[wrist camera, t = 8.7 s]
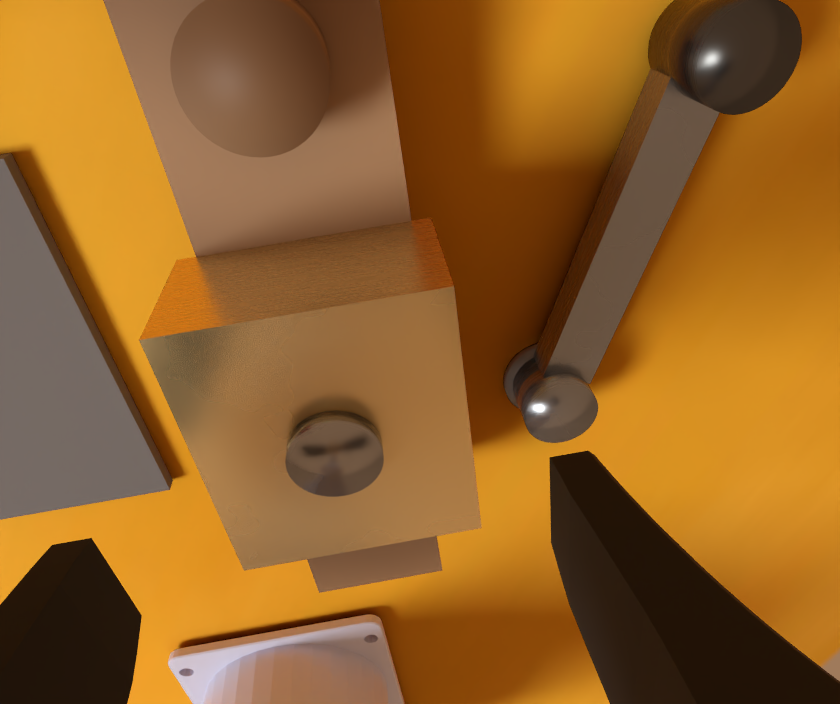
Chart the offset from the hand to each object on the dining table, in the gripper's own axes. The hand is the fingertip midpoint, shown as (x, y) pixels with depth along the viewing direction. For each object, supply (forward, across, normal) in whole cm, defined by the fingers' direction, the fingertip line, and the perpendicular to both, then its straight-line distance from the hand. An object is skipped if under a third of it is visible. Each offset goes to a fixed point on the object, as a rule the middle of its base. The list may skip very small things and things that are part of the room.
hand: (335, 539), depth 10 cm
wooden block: (+5, 0, 0) cm, 5 cm away
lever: (+7, -7, -1) cm, 10 cm away
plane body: (+8, -2, -1) cm, 8 cm away
